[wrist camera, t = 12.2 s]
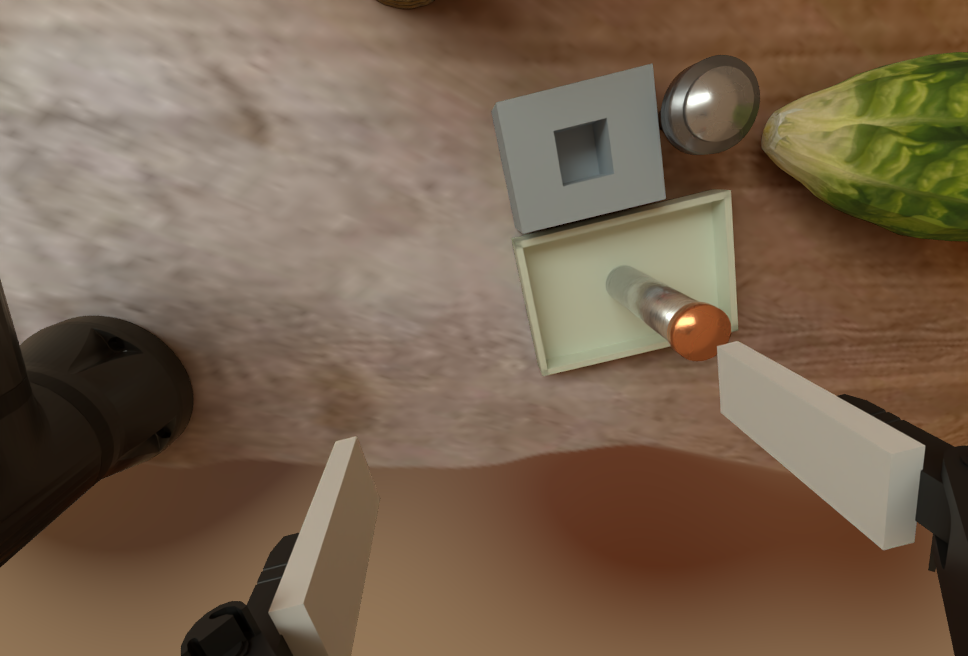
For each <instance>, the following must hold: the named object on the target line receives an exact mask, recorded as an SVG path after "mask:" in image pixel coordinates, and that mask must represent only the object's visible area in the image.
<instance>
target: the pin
mask: <svg viewBox="0 0 968 656" xmlns="http://www.w3.org/2000/svg"><path fill="white" fill-rule="evenodd" d="M606 290H607V292H608V294H609V295H610V296H611V297H612V298H614V299H615V300H616V301H617V302H619V303H620V304H621V305H623V306H624V307H625V308H626V309H628V310H629V311H630V312H631V313H633V314H634V315H635V316H637V317H638V318H639V319H640V320H642V321H643V322H644V323H646V324H647V325H648V326H649V327H651V328H652V329H653V330H654V331H656V332H657V333H658V334H660V335H661V336H662V337H663V338H665V339H666V340H667V341H668V342H669V344H670V345H671V347H672V348H673V349H674V350H675V351H676V352H678V353H679V354H680V355H681V356H683V357H684V358H686V359H688V360H692V361H703V360H707V359H710V358H712V357H714V356H716V355H717V346H720V345H724V344H727V343H728V341H729V338H730V335H731V323H730V320H729V318H728V316H727V315H726V313H725V312H724V311H722V310H721V309H719V308H717V307H715V306H713V305H711V304H709V303H706V302H699V301H697V300H695V299H693V298H691V297H689V296H687V295H685V294H683V293H681V292H679V291H677V290H676V289H674V288H672V287H670V286H668V285H666V284H664V283H662V282H660V281H658V280H656V279H654V278H652V277H651V276H649V275H647V274H645V273H643V272H641V271H639V270H637V269H635V268H633V267H631V266H628V265H622V266H618V267H616V268H614V269H613V270H612V271H611V272H610V273H609V275H608V276H607V279H606Z"/></svg>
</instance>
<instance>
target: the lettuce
mask: <svg viewBox="0 0 968 656" xmlns="http://www.w3.org/2000/svg"><path fill="white" fill-rule="evenodd" d="M761 148H762V149H763V151H764V152H765V153H766V154H767V155H768V156H769V158H770V159H771V160H772V161H773V162H774V163H775V164H776V165H777V166H778V167H779V168H780V169H782V170H783V171H785V172H786V173H788V174H789V175H791V176H792V177H793V178H795V179H796V180H798V181H799V182H801V183H802V184H803V185H804V186H805V187H806V188H807V189H808V190H810V191H811V192H812V193H813V194H814V195H815V196H816V197H818V198H819V199H821V200H822V201H824V202H825V203H827V204H828V205H830V206H832V207H833V208H835V209H837V210H839V211H842V212H844V213H846V214H849V215H851V216H853V217H856V218H859V219H862V220H865V221H868V222H871V223H874V224H876V225H878V226H881V227H883V228H885V229H887V230H890V231H892V232H894V233H896V234H899V235H904V236H909V237H915V238H922V239H933V240H945V241H966V242H968V52H955V53H945V54H936V55H928V56H924V57H919V58H915V59H911V60H906V61H902V62H898V63H893V64H889V65H885V66H882V67H879V68H876V69H873V70H870V71H866V72H863V73H860V74H857V75H855V76H853V77H851V78H849V79H847V80H845V81H843V82H841V83H839V84H837V85H834V86H832V87H829V88H826V89H824V90H821V91H818V92H815V93H812V94H810V95H807V96H804V97H802V98H800V99H798V100H796V101H794V102H792V103H790V104H788V105H786V106H784V107H782V108H781V109H779V110H777V111H775V112H774V113H773V114H772V115H771V116H770V118H769V119H768V121H767V123H766V125H765V128H764V131H763V134H762V139H761Z"/></svg>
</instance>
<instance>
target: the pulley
mask: <svg viewBox="0 0 968 656" xmlns="http://www.w3.org/2000/svg"><path fill="white" fill-rule="evenodd" d="M759 103H760V91H759V85H758V82H757V79H756V76H755V75H754V73H753V71H752V70H751V68H750V67H749V66H748V65H747V64H746V63H745V62H743V61H742V60H740V59H738V58H736V57H733V56H728V55H717V56H712V57H709V58H706V59H704V60H702V61H700V62H698V63H696V64H693V65H691V66H689V67H688V68H686V69H684V70H683V71H682V72H681V73H679V74H678V75H677V76H676V78H675V79H674V80H673V81H672V83H671V84H670V86H669V87H668V89H667V91H666V93H665V96H664V99H663V102H662V107H661V111H660V112H659V114H658V124H659V128H660V129H661V130H663V131H664V133H665V135H666V137H667V139H668V140H669V142H670V143H671V144H672V145H673V146H674V147H675V148H677V149H678V150H680V151H682V152H684V153H687V154H691V155H704V154H714V153H719V152H722V151H725V150H727V149H729V148H731V147H733V146H734V145H736V144H737V143H738V142H739V141H740V140H741V139H742V138H743V137H744V136H745V135H746V134H747V133H748V131H749V130H750V128H751V127H752V125H753V123H754V121H755V119H756V116H757V113H758V109H759Z"/></svg>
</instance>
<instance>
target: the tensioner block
mask: <svg viewBox="0 0 968 656" xmlns="http://www.w3.org/2000/svg"><path fill="white" fill-rule="evenodd" d="M491 112H492V117H493V122H494V126H495V131H496V136H497V141H498V146H499V151H500V155H501V160H502V165H503V170H504V175H505V180H506V184H507V189H508V194H509V199H510V204H511V209H512V213H513V218H514V223H515V227H516V228H517V229H518V230H519V231H520V232H521V233H522V234H524V233H528V232H532V231H536V230H540V229H545V228H549V227H553V226H557V225H561V224H565V223H569V222H573V221H578V220H582V219H586V218H590V217H594V216H598V215H602V214H606V213H610V212H615V211H619V210H623V209H627V208H631V207H635V206H639V205H643V204H647V203H652V202H656V201H660V200H664V199H666V195H665V185H664V174H663V164H662V154H661V144H660V134H659V124H658V114H657V103H656V93H655V83H654V73H653V64H649V65H645V66H641V67H637V68H633V69H629V70H625V71H621V72H617V73H613V74H609V75H605V76H601V77H597V78H593V79H589V80H585V81H581V82H577V83H573V84H569V85H565V86H561V87H557V88H553V89H549V90H545V91H541V92H537V93H533V94H529V95H525V96H521V97H517V98H513V99H509V100H505V101H501V102H497V103H496V104H495V106H494V108H493V110H492V111H491Z"/></svg>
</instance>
